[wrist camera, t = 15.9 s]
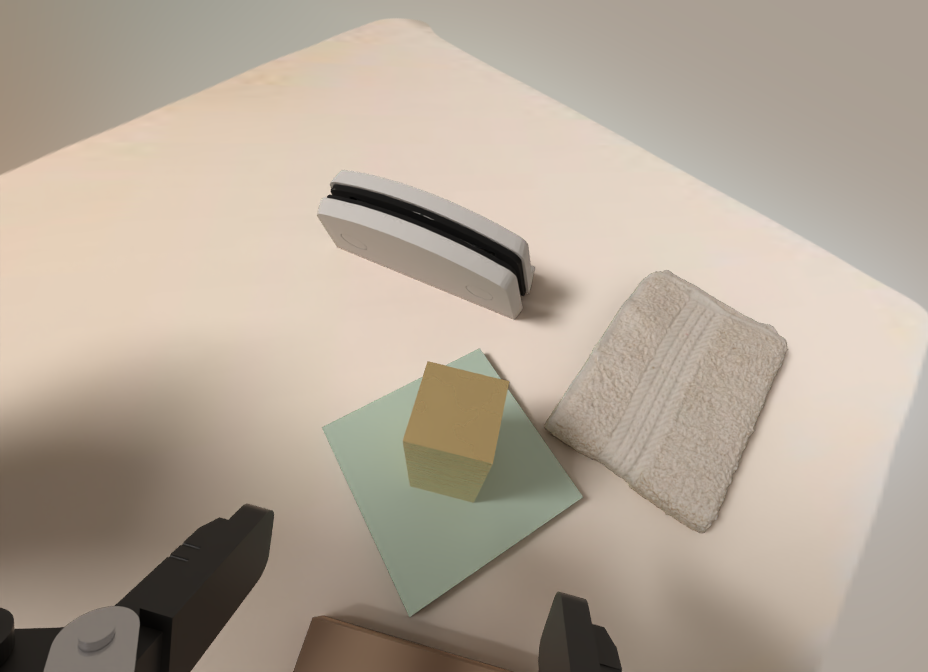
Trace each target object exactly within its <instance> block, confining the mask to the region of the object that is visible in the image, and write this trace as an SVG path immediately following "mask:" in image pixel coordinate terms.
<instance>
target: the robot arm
mask: <svg viewBox="0 0 928 672" xmlns="http://www.w3.org/2000/svg"><path fill="white" fill-rule="evenodd" d="M273 520H274V512H273V511H272V510H268V509H265V508H261V507H257V506H254V505H250V504H245V505H243V506H242V507H241V508H240V509H239V510H238V511H237V512H236V513H235V514H234V515H233V516H232V517H231V518H230V519H229V520H226V519H223V518H218V519H216V520H214V521H212V522H210V523H208V524H206V525H204V526H202V527H200V528H198V529H197V530H196V531H195V532H194V533H193V534H192V535H191V536H190V537H189V538H188V539H187V540H185V541H184V543H183V545H180V546H179V547H178V548H177V549H176V550H175V551H174V552H172V553H171V555H170V557H169V558H168V557H167V558H166V559H165V560H164V561H163V562H162V563H161V564H160V565H158V566H157V567H156V568H155V569H154V570H153V571H152V572H151V573H150V574H149V575H148V576H147V577H145V578H144V579H143V580H142V581H141V582H140V583H139V584H138V585H137V586H136V587H135V588H134V589H132V590H131V591H130V592H129V593H128V594H127V595H126V596H125V597H124V598H123V599H122V600H121V601H120V602H118V603H117V604H116V605H115V606H110V607H104V608H100V609H96V610H93V611H90V612H88V613H86V614H84V615H82V616H80V617H78V618H76V619H75V620H73V621H72V622H70V623H69V624H68V625H67V626H65V627H61V628H33V629H14V618H13V615H12V614H11V613H10V612H9V611H8V610H6V609H3V608H0V672H190V671H191V670H192V669H193V667H194V666H195V665H196V663H197V662H198V661H199V659H200V658H201V657H202V655H203V654H204V653H205V651H206V650H207V649H208V647H209V646H210V645H211V643H212V642H213V641H214V639H215V638H216V637H217V635H218V634H219V633H220V631H221V630H222V629H223V627H224V626H225V624H226V623H227V622H228V620H229V619H230V618H231V616H232V615H233V614H234V612H235V611H236V610H237V608H238V607H239V606H240V604H241V603H242V602H243V600H244V599H245V598H246V596H247V595H248V594H249V592H250V591H251V590H252V588H253V587H254V586H255V584H256V583H257V581H258V580H259V578H260V577H261V575H262V573H263V571H264V569H265V566H266V564H267V561H268V557H269V550H270V542H271V535H272V528H273ZM538 666H539V672H622V668H621V664H620V660H619V656H618V652H617V648H616V646H615V645H614V643H613V641H612V640H611V638H610V636H609V635H608V633H607V631H606V630H605V628H604V627H601V626H597V625H594V624H592V622H591V617H590V612H589V607H588V603H587V601H586V599H583V598H579V597H576V596H572V595H568V594H565V593H561V592H557V593H556V595H555V598H554V601H553V604H552V607H551V610H550V613H549V616H548V619H547V621H546V624H545V627H544V630H543V633H542V637H541V641H540V647H539V657H538Z"/></svg>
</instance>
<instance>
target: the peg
mask: <svg viewBox="0 0 928 672" xmlns="http://www.w3.org/2000/svg"><path fill="white" fill-rule="evenodd" d="M508 386H509V381H506V380H502V379H498V378H494V377H490V376H486V375H482V374H478V373H473V372H469V371H465V370H461V369H457V368H453V367H449V366H445V365H441V364H437V363H433V362H427V365H426V368H425V371H424V375H423V378H422V381H421V384H420V387H419V390H418V394H417V397H416V400H415V403H414V406H413V409H412V413H411V416H410V419H409V422H408V425H407V428H406V431H405V435H404V438H403V447H404V453H405V459H406V466H407V472H408V478H409V485H410V486H411V487H415V488H419V489H423V490H426V491H430V492H434V493H438V494H442V495H445V496H449V497H453V498H457V499H461V500H464V501H468V502H472V503H474V501H475V499H476V497H477V495H478V493H479V491H480V489H481V487H482V485H483V483H484V481H485V479H486V477H487V475H488V473H489V471H490V469H491V467H492V465H493V461H494V456H495V451H496V446H497V441H498V436H499V431H500V426H501V421H502V416H503V411H504V406H505V401H506V396H507V391H508Z"/></svg>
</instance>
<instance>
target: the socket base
mask: <svg viewBox="0 0 928 672" xmlns="http://www.w3.org/2000/svg"><path fill="white" fill-rule="evenodd" d="M293 672H512V671H509V670H505V669H502V668H499V667H495V666H492V665H488V664H485V663H482V662H478V661H475V660H471V659H468V658H465V657H461V656H458V655H455V654H451V653H448V652H444V651H441V650H438V649H434V648H431V647H427V646H424V645H421V644H417V643H414V642H410V641H407V640H404V639H400V638H397V637H393V636H390V635H387V634H383V633H380V632H377V631H373V630H370V629H366V628H363V627H360V626H356V625H353V624H349V623H346V622H343V621H339V620H336V619H332V618H329V617H326V616H318V617H313V618H312V621H311V624H310V626H309V629H308V632H307V635H306V637H305V640H304V643H303V646H302V649H301V651H300V654H299V657H298V660H297V663H296V665H295V668H294V671H293Z"/></svg>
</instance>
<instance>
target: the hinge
mask: <svg viewBox="0 0 928 672" xmlns="http://www.w3.org/2000/svg"><path fill="white" fill-rule="evenodd" d="M330 186H331V188H332V189H331V193H332V195H328V196H327V198H322V199H321V202H320V205H319V209H318V213H317V217H318V218H319V220H320V221H321V223H322V224H323V226H324V227H325V229H326V231H327V232H328V234H329V235H330V237H331V238H332V240H333V241H334V243H335V245H336V246H337V247H338V248H340V249H343V250H345V251H348V252H350V253H353V254H355V255H357V256H360V257H362V258H365V259H367V260H370V261H372V262H374V263H377V264H379V265H382V266H384V267H387V268H389V269H392V270H394V271H396V272H399V273H401V274H404V275H406V276H409V277H411V278H413V279H416V280H418V281H421V282H423V283H426V284H428V285H431V286H433V287H435V288H438V289H440V290H443V291H445V292H448V293H450V294H452V295H455V296H457V297H460V298H462V299H465V300H467V301H470V302H472V303H474V304H477V305H479V306H482V307H484V308H487V309H489V310H492V311H494V312H496V313H499V314H501V315H504V316H506V317H509V318H511V319H513V320H514V319H515V318H516V317H517V316H518V315H519V313H520V312H521V310H522V309H523V307H522V301H521V296H520V295H522V296H524V295H525V293H528V294H529V293H530V288H531V284H532V279H533V275H534V271H535V267H534V266H531V264H530V256H529V247H528V244H527V242H526V241H525V240H524V239H523V238H521V237H520V236H518V235H516V234H515V233H513V232H511V231H509V230H507V229H506V228H504V227H502V226H500V225H499V224H497V223H495V222H493V221H491V220H489V219H487V218H485V217H483V216H481V215H479V214H477V213H475V212H473V211H470V210H468V209H466V208H464V207H462V206H460V205H457V204H455V203H453V202H451V201H448V200H446V199H444V198H441V197H439V196H436V195H434V194H431V193H428V192H426V191H423V190H420V189H417V188H414V187H412V186H409V185H406V184H403V183H400V182H396V181H393V180H389V179H386V178H382V177H378V176H374V175H370V174H365V173H360V172H354V171H348V170H341V171H340V172H339V173H338V174H337V175H336V177H335V178H334V179H333V180H332V181H331V183H330Z"/></svg>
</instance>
